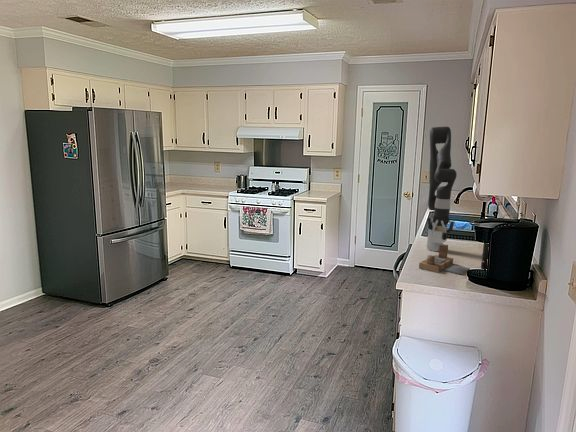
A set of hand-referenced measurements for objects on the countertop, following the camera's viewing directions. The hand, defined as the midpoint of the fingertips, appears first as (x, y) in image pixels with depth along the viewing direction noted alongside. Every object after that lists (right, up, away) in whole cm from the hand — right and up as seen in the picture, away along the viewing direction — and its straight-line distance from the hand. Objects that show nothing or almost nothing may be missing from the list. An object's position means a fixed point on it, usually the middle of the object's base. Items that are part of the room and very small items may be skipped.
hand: (439, 238), depth 226 cm
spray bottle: (+26, -17, -3) cm, 31 cm away
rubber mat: (+8, -16, -4) cm, 19 cm away
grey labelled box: (0, -1, 0) cm, 1 cm away
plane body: (-1, -15, +3) cm, 15 cm away
